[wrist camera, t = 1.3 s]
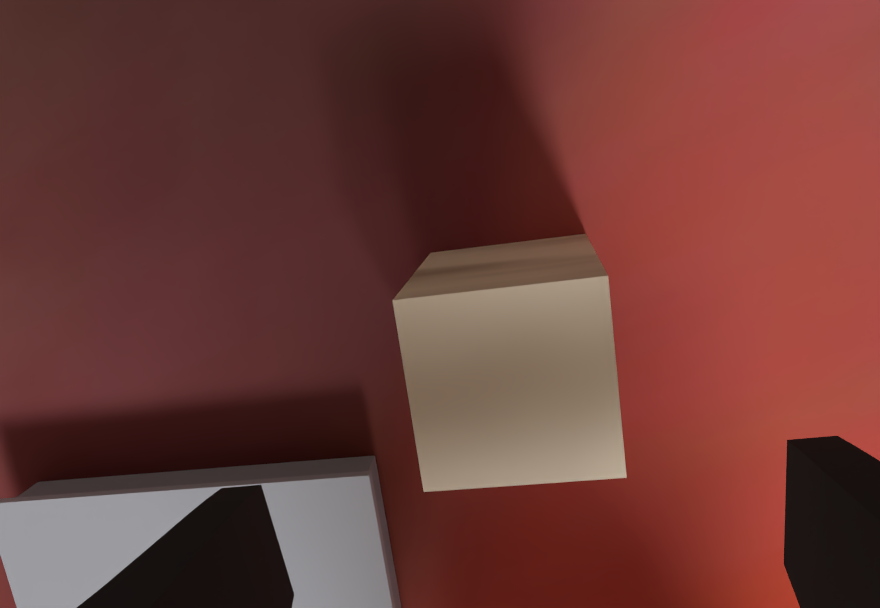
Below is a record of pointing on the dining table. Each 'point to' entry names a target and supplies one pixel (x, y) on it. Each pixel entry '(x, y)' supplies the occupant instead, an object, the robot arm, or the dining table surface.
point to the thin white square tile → (172, 498)
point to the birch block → (511, 365)
